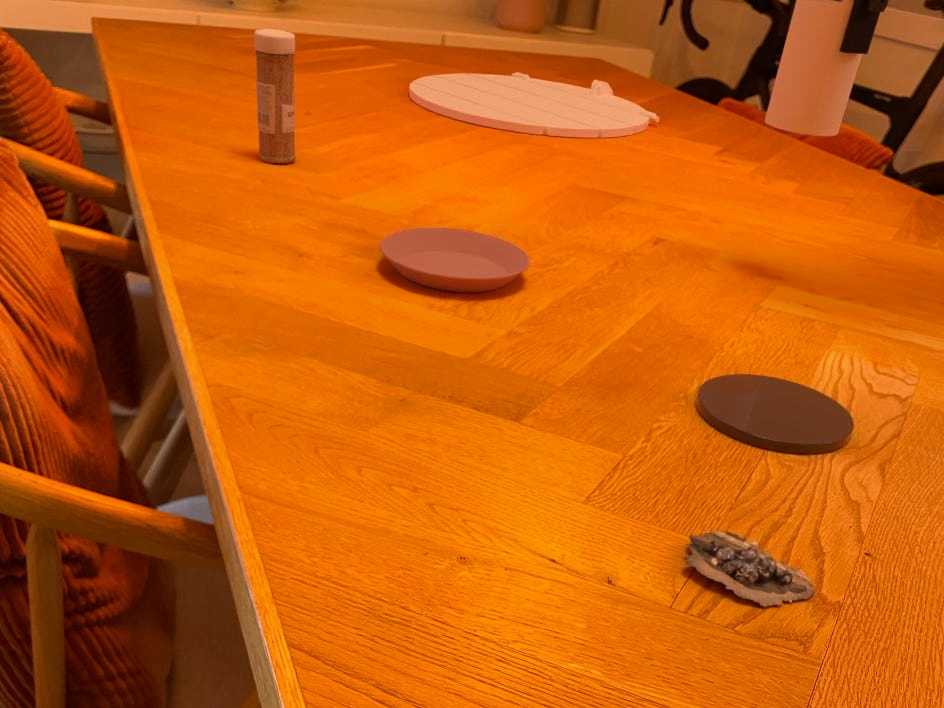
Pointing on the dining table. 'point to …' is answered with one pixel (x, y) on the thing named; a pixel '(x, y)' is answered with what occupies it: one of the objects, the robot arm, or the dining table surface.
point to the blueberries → (747, 569)
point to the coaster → (774, 413)
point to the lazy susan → (531, 105)
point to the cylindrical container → (814, 70)
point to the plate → (454, 258)
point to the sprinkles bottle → (275, 95)
